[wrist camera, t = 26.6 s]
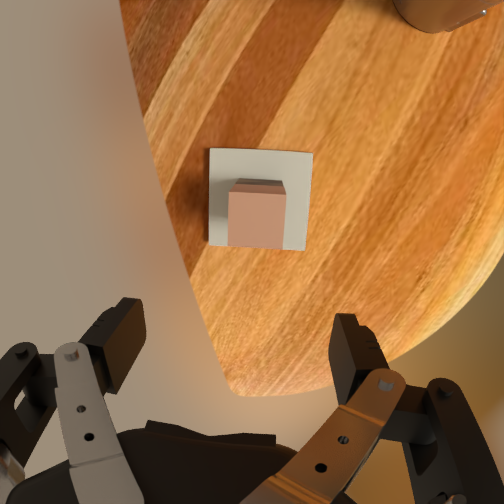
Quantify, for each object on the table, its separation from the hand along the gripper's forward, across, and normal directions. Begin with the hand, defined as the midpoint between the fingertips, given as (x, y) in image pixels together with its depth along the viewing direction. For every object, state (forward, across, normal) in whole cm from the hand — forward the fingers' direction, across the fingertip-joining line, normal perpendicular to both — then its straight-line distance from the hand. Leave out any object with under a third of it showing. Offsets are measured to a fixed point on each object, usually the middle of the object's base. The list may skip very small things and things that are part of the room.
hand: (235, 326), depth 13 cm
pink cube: (+22, 0, 0) cm, 22 cm away
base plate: (+28, 0, 0) cm, 28 cm away
